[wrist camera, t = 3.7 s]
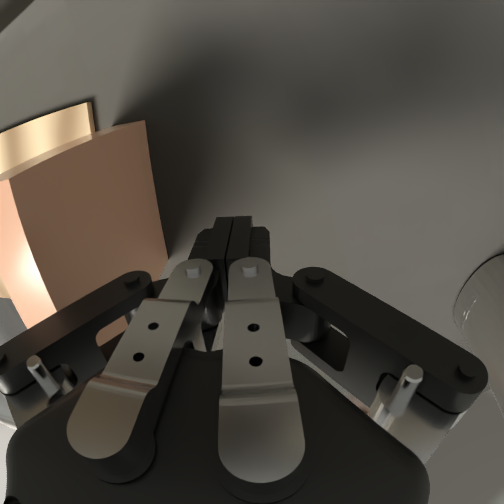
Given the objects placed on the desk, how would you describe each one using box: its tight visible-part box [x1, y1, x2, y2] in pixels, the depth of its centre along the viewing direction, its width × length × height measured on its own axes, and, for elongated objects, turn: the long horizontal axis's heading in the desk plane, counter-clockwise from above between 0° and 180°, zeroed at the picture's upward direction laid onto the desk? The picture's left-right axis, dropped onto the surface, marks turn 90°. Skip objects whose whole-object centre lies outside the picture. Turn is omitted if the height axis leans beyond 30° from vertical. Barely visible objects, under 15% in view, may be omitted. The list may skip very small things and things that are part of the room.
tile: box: [0, 120, 168, 346], centre depth 14 cm, size 2×10×12 cm, turn 3°
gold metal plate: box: [0, 102, 95, 298], centre depth 20 cm, size 18×16×1 cm
